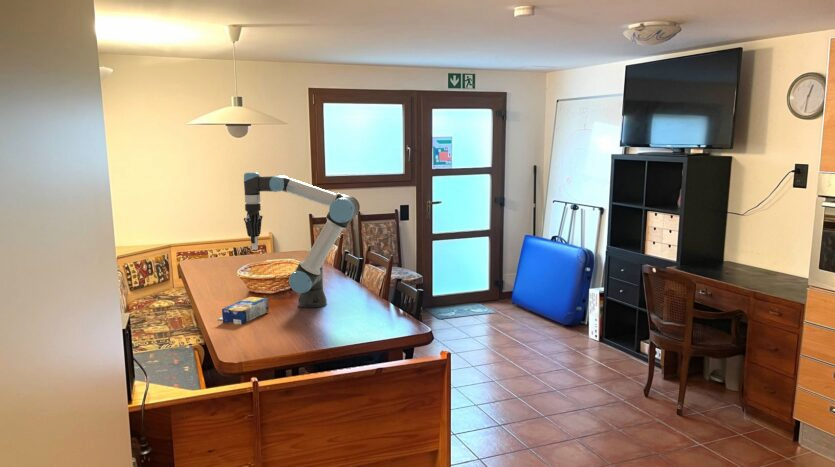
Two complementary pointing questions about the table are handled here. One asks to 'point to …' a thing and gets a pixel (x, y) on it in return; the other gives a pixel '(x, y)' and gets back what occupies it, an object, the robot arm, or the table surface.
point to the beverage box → (245, 310)
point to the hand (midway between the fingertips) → (254, 249)
